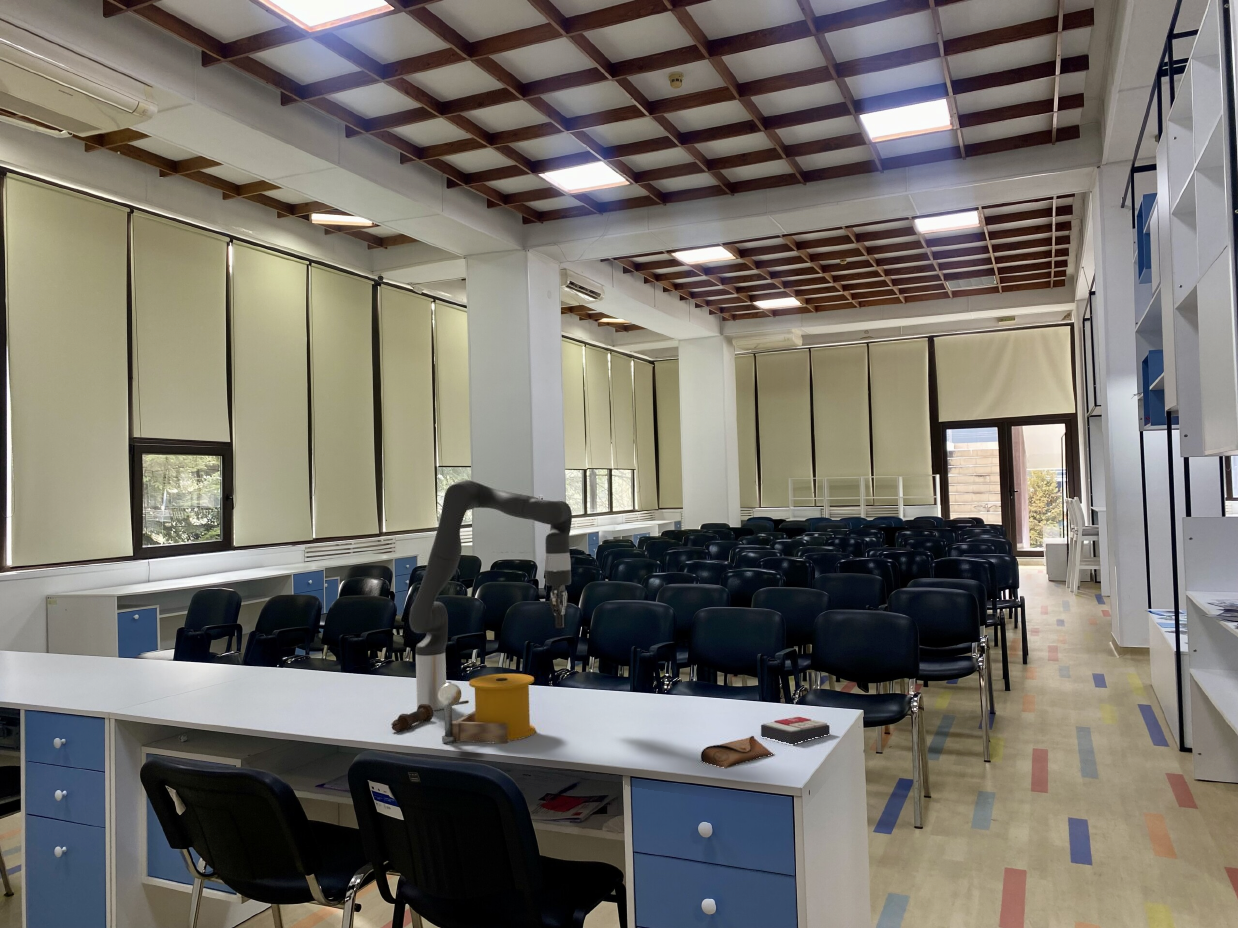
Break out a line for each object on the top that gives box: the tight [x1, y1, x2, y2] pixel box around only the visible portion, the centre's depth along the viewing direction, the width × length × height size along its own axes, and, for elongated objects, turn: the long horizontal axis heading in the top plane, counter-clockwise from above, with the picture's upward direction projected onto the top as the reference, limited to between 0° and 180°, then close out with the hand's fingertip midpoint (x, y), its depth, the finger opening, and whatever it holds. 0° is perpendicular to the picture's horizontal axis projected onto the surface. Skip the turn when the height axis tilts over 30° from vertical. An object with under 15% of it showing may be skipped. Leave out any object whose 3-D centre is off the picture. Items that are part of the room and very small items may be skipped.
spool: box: [468, 673, 536, 741], centre depth 249 cm, size 18×18×15 cm
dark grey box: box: [760, 716, 831, 744], centre depth 236 cm, size 11×4×15 cm
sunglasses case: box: [700, 735, 773, 769], centre depth 218 cm, size 18×7×7 cm
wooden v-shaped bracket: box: [452, 710, 509, 744], centre depth 245 cm, size 12×22×5 cm, turn 30°
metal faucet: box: [438, 681, 470, 744], centre depth 242 cm, size 9×4×16 cm, turn 120°
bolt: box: [390, 704, 434, 732], centre depth 261 cm, size 6×5×15 cm
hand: (559, 627), depth 263 cm, fingers closed
